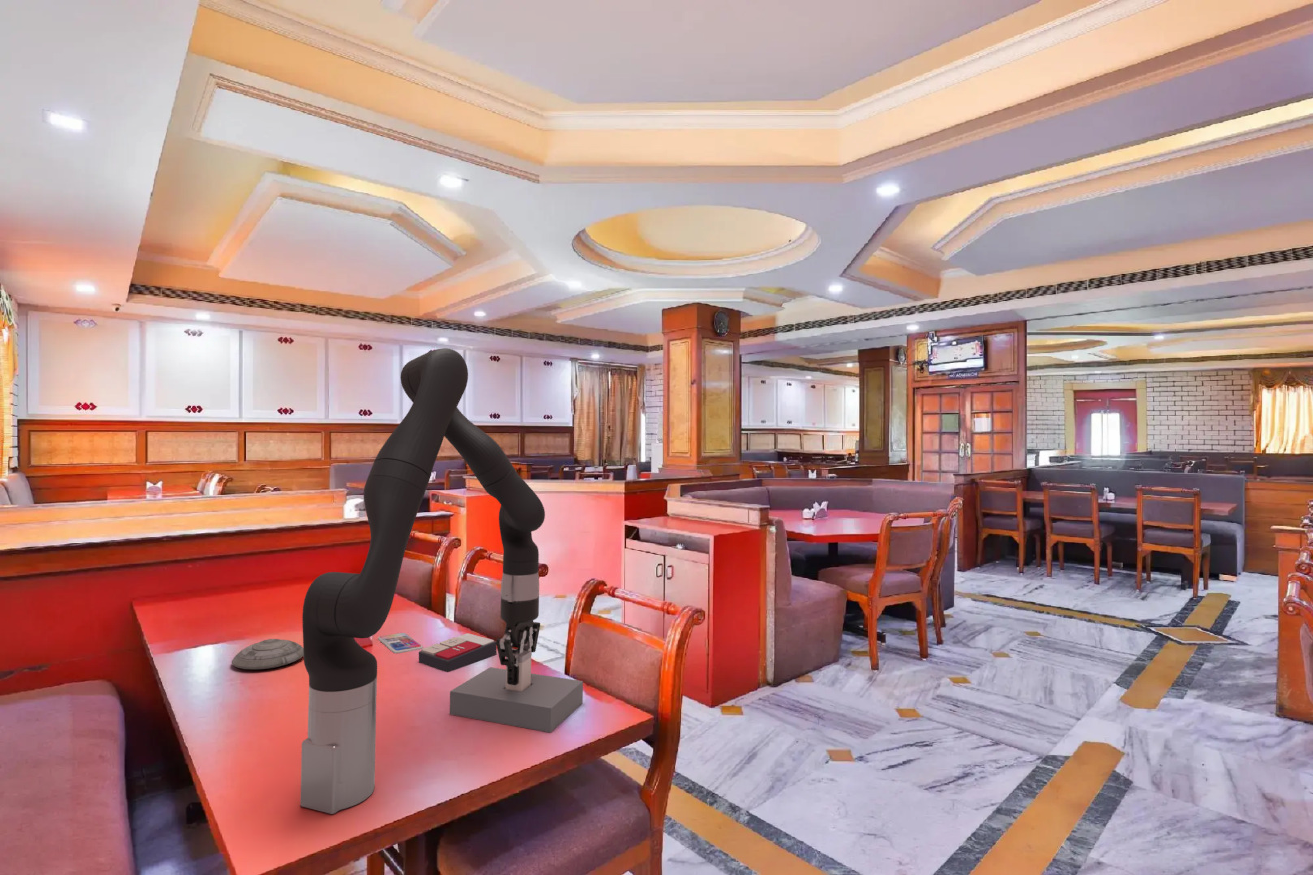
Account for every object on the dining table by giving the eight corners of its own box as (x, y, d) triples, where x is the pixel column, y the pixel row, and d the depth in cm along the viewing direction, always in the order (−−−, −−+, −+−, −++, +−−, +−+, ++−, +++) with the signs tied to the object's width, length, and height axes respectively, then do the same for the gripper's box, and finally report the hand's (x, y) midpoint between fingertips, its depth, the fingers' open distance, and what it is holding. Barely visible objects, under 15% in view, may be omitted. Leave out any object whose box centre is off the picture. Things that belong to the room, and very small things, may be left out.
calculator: (417, 648, 151) (467, 630, 163) (418, 666, 151) (468, 646, 164) (447, 657, 145) (497, 638, 157) (447, 676, 145) (497, 655, 158)
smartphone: (405, 631, 173) (424, 646, 161) (404, 635, 172) (424, 650, 161) (376, 636, 168) (394, 651, 156) (376, 639, 168) (394, 655, 156)
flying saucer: (246, 679, 139) (247, 654, 139) (220, 664, 148) (221, 640, 148) (317, 661, 151) (317, 638, 151) (289, 647, 160) (289, 626, 160)
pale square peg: (521, 710, 124) (522, 656, 124) (504, 707, 125) (506, 654, 125) (530, 703, 128) (531, 651, 128) (514, 700, 129) (515, 648, 129)
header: (550, 732, 116) (551, 708, 116) (449, 714, 123) (450, 691, 123) (582, 702, 130) (583, 681, 130) (489, 687, 136) (490, 667, 136)
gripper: (521, 585, 134) (519, 666, 134) (484, 601, 121) (482, 690, 121) (553, 588, 132) (551, 670, 132) (518, 604, 119) (516, 696, 118)
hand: (518, 679), depth 126 cm, fingers closed on pale square peg, 3 cm apart
